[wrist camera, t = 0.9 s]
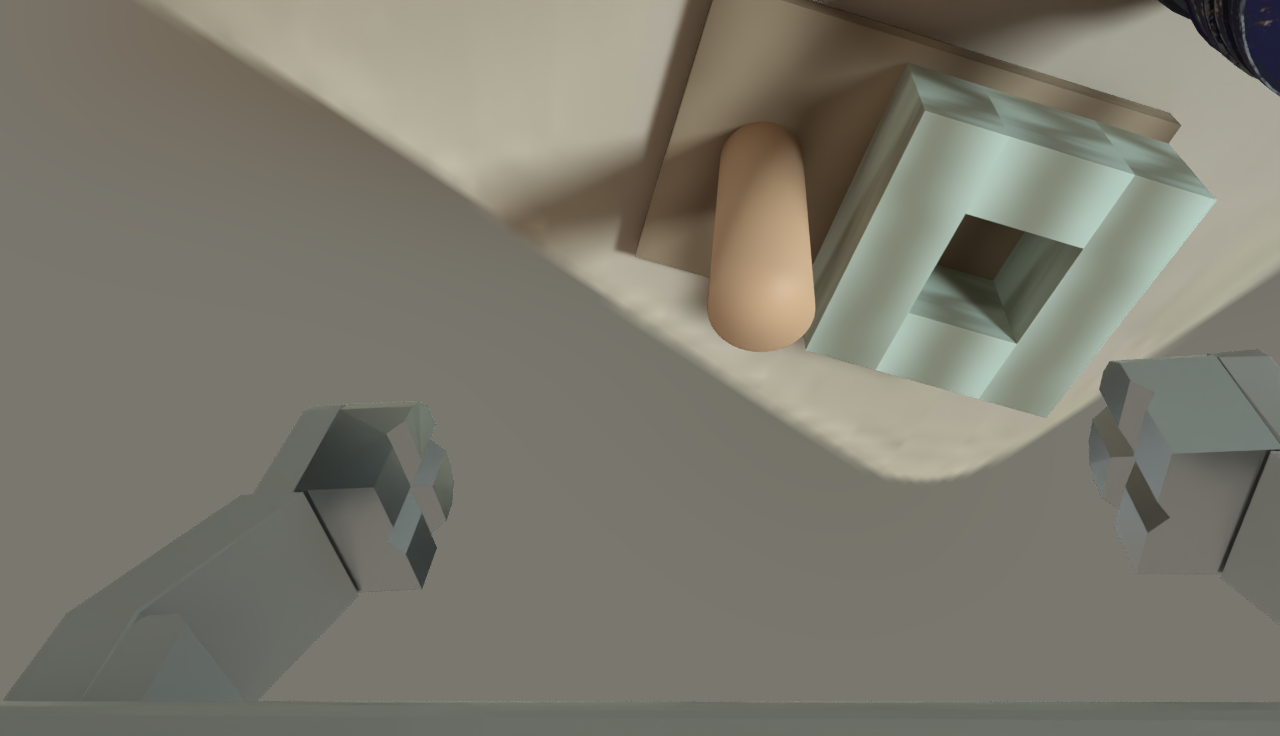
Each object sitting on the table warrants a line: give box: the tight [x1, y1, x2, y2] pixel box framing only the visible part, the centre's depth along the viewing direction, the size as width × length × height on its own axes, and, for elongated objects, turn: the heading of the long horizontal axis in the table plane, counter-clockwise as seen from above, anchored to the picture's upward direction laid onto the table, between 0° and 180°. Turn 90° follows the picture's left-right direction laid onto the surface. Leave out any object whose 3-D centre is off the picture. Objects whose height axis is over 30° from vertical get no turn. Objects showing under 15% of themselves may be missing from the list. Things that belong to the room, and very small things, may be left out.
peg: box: [707, 121, 815, 352], centre depth 41 cm, size 4×4×14 cm
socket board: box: [635, 0, 1217, 418], centre depth 45 cm, size 24×16×8 cm, turn 75°
